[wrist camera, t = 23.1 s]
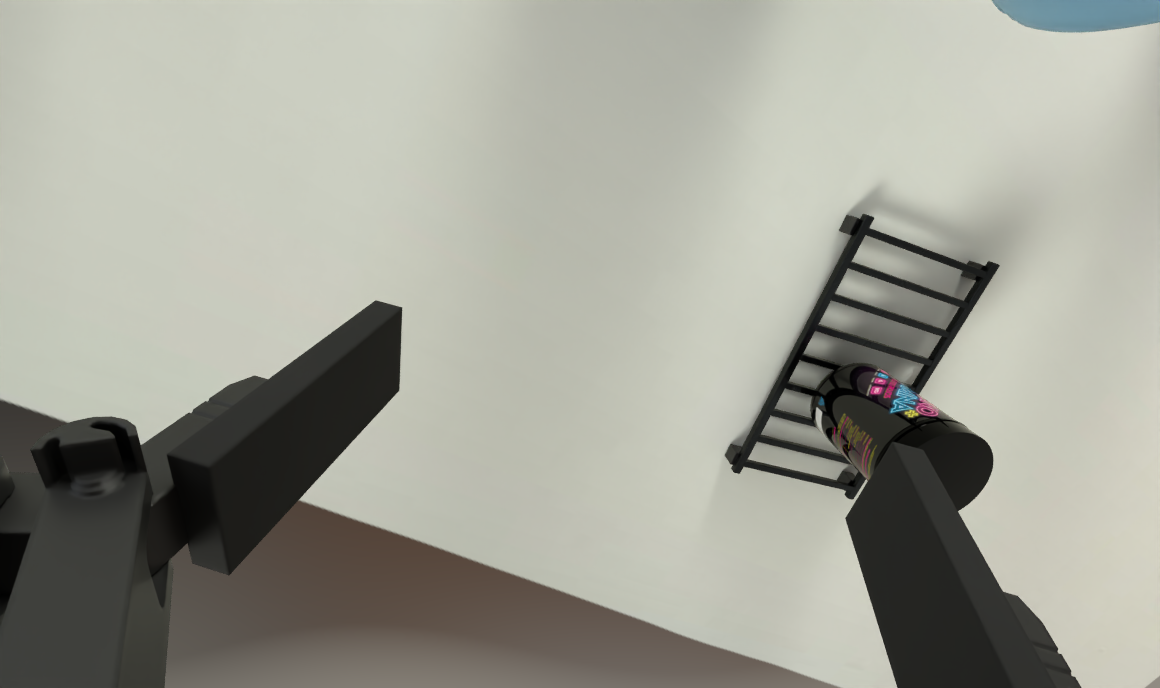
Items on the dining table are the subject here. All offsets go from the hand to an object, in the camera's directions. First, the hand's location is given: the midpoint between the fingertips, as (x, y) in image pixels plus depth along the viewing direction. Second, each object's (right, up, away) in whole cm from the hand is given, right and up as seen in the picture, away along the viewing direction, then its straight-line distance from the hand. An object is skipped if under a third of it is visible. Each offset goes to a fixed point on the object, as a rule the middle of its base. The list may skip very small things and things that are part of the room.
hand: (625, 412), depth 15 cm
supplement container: (+20, -2, +29) cm, 35 cm away
